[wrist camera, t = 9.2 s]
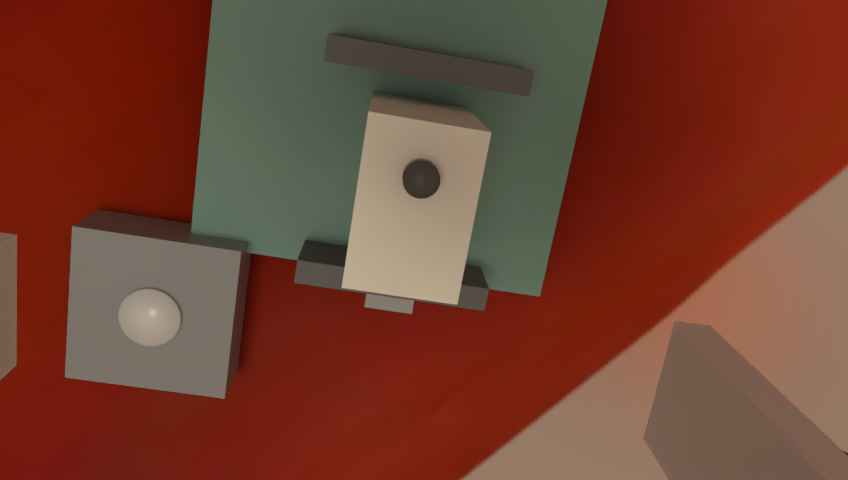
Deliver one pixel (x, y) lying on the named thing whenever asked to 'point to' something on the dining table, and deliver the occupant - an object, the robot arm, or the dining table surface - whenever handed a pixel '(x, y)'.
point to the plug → (415, 198)
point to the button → (155, 304)
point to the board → (347, 117)
